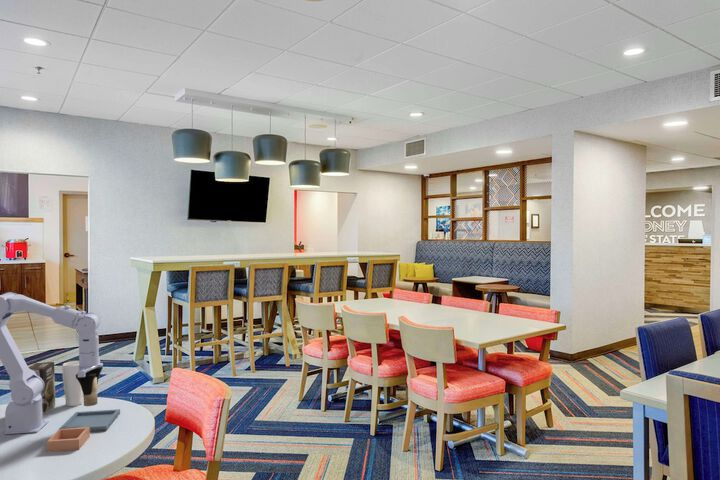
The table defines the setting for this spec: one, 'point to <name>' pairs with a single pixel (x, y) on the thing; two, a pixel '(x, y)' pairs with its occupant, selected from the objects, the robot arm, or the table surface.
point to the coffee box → (46, 384)
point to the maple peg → (91, 399)
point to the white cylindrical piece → (72, 383)
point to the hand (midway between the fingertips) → (90, 392)
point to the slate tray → (92, 420)
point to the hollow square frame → (68, 439)
